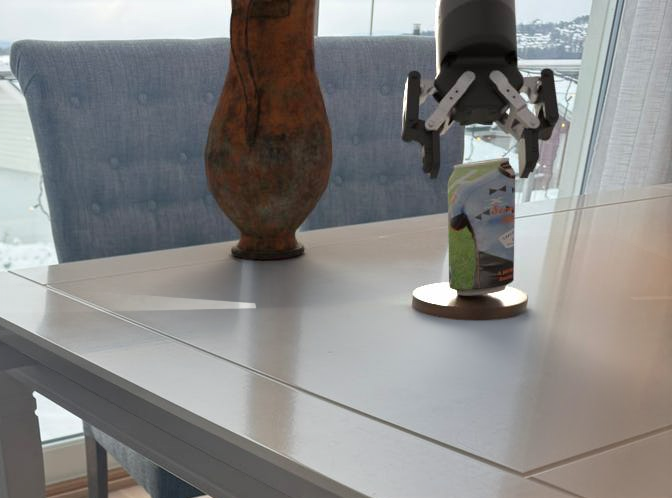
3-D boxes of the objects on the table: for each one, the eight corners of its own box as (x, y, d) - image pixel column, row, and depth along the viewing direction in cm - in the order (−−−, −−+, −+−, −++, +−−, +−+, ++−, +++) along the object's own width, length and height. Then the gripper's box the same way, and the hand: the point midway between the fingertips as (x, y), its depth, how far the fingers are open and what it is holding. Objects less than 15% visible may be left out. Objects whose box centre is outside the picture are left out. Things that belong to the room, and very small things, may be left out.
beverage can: (501, 304, 88) (523, 162, 81) (426, 296, 91) (441, 159, 85) (518, 290, 92) (540, 155, 86) (446, 283, 96) (462, 152, 89)
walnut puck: (505, 310, 98) (509, 281, 96) (537, 339, 89) (543, 306, 87) (400, 313, 98) (403, 283, 96) (422, 341, 89) (425, 309, 87)
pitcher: (342, 244, 131) (358, -17, 115) (299, 275, 114) (311, -24, 98) (231, 238, 136) (231, -11, 120) (175, 267, 120) (166, -17, 103)
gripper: (408, -3, 88) (411, 145, 85) (562, -7, 87) (571, 143, 84) (396, 61, 95) (398, 200, 92) (537, 58, 94) (545, 199, 91)
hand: (480, 173), depth 88 cm, fingers open, 8 cm apart
